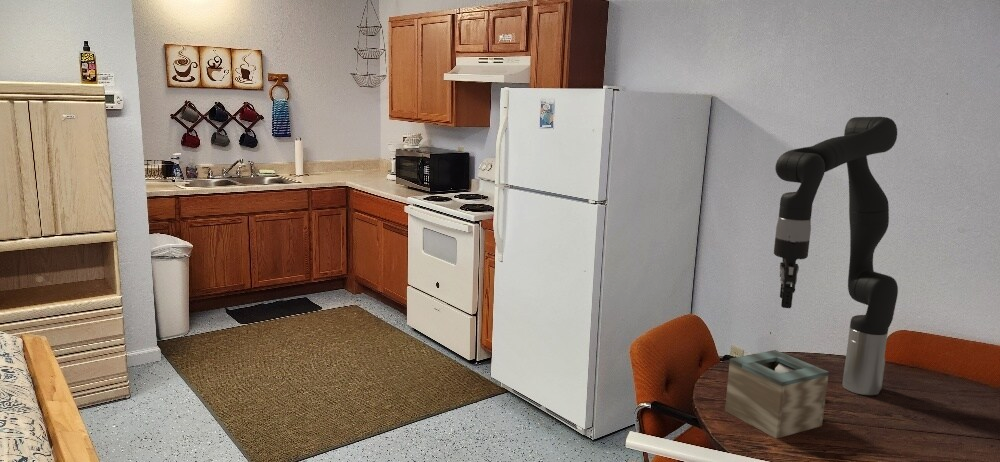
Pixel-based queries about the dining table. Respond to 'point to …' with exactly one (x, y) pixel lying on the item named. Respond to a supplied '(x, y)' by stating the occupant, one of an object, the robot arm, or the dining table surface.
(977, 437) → the dining table surface
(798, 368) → the drop box
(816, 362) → the dining table surface
